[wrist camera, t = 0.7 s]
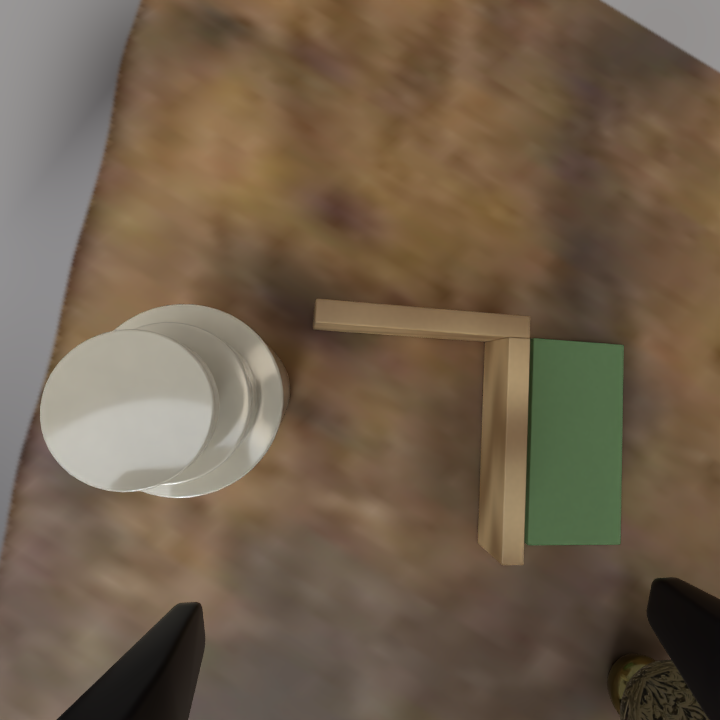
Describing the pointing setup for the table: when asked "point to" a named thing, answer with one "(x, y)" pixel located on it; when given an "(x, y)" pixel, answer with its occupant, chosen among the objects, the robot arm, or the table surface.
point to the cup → (651, 690)
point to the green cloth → (574, 443)
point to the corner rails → (500, 400)
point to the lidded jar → (166, 403)
